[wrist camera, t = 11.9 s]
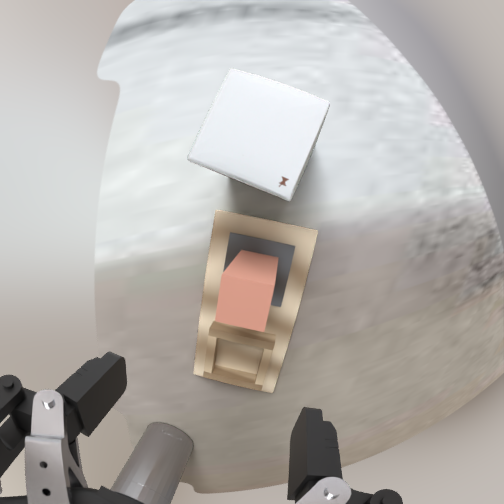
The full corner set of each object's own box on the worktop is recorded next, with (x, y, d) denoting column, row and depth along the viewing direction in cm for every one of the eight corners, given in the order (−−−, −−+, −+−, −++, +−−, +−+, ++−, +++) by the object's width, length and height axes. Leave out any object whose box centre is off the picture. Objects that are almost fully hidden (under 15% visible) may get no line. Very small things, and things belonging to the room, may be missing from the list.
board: (273, 388, 34) (271, 402, 31) (195, 369, 35) (188, 382, 32) (316, 230, 29) (320, 234, 26) (218, 209, 30) (210, 211, 27)
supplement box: (316, 139, 27) (336, 102, 14) (288, 201, 29) (290, 206, 16) (253, 113, 27) (229, 64, 15) (226, 173, 29) (183, 161, 16)
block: (271, 292, 30) (264, 332, 21) (235, 284, 30) (215, 321, 21) (278, 257, 29) (274, 285, 20) (241, 249, 29) (221, 274, 20)
